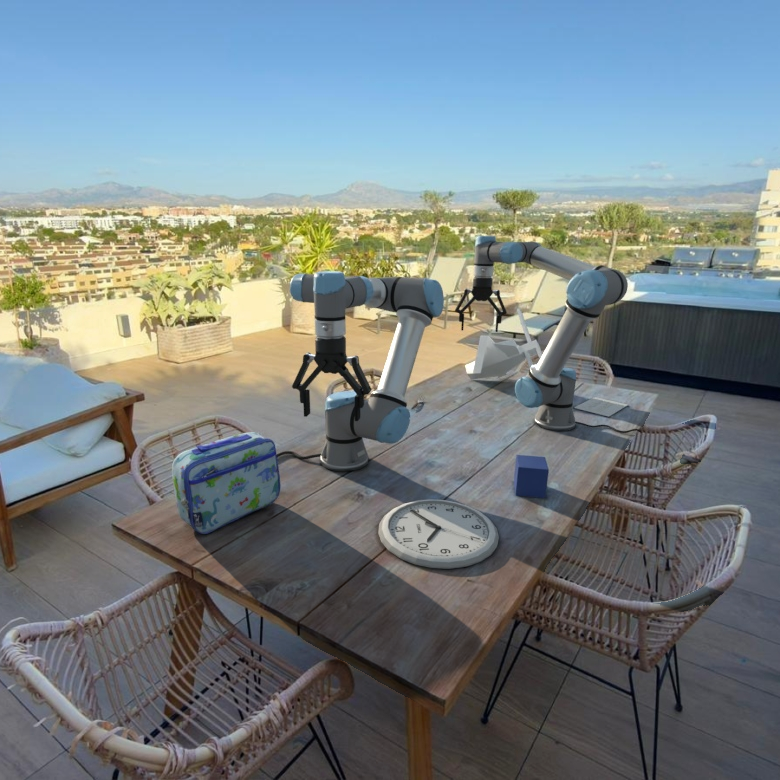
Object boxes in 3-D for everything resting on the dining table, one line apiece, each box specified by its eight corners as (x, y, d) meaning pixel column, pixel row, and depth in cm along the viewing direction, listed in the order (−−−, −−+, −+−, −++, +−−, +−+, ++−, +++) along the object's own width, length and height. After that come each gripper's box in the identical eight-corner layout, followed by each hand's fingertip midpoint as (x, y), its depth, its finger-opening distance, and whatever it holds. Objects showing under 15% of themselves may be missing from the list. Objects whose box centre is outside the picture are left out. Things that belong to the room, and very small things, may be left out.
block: (515, 495, 150) (518, 467, 147) (513, 481, 158) (516, 454, 155) (545, 498, 149) (548, 469, 146) (542, 484, 157) (545, 456, 154)
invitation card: (608, 416, 214) (573, 407, 224) (608, 416, 214) (573, 408, 224) (628, 404, 229) (594, 396, 238) (628, 405, 229) (594, 397, 238)
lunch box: (192, 543, 125) (183, 462, 118) (173, 525, 132) (164, 448, 126) (285, 505, 142) (281, 433, 136) (263, 491, 149) (259, 422, 143)
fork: (408, 410, 218) (408, 405, 217) (419, 398, 232) (419, 394, 231) (414, 410, 217) (414, 406, 216) (425, 399, 231) (425, 395, 231)
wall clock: (515, 560, 118) (382, 565, 115) (514, 566, 118) (382, 571, 116) (482, 494, 146) (374, 497, 144) (481, 500, 147) (374, 502, 144)
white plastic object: (486, 421, 262) (466, 398, 237) (467, 348, 284) (447, 320, 260) (558, 397, 250) (545, 370, 225) (533, 322, 272) (517, 290, 247)
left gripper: (276, 336, 127) (280, 417, 134) (376, 342, 122) (375, 426, 129) (288, 330, 134) (292, 408, 141) (383, 335, 129) (382, 416, 136)
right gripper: (450, 276, 202) (447, 330, 209) (516, 278, 199) (511, 333, 205) (451, 275, 209) (448, 327, 216) (515, 277, 206) (510, 330, 212)
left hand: (332, 417), depth 135 cm, fingers open, 13 cm apart
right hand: (479, 330), depth 210 cm, fingers open, 13 cm apart
